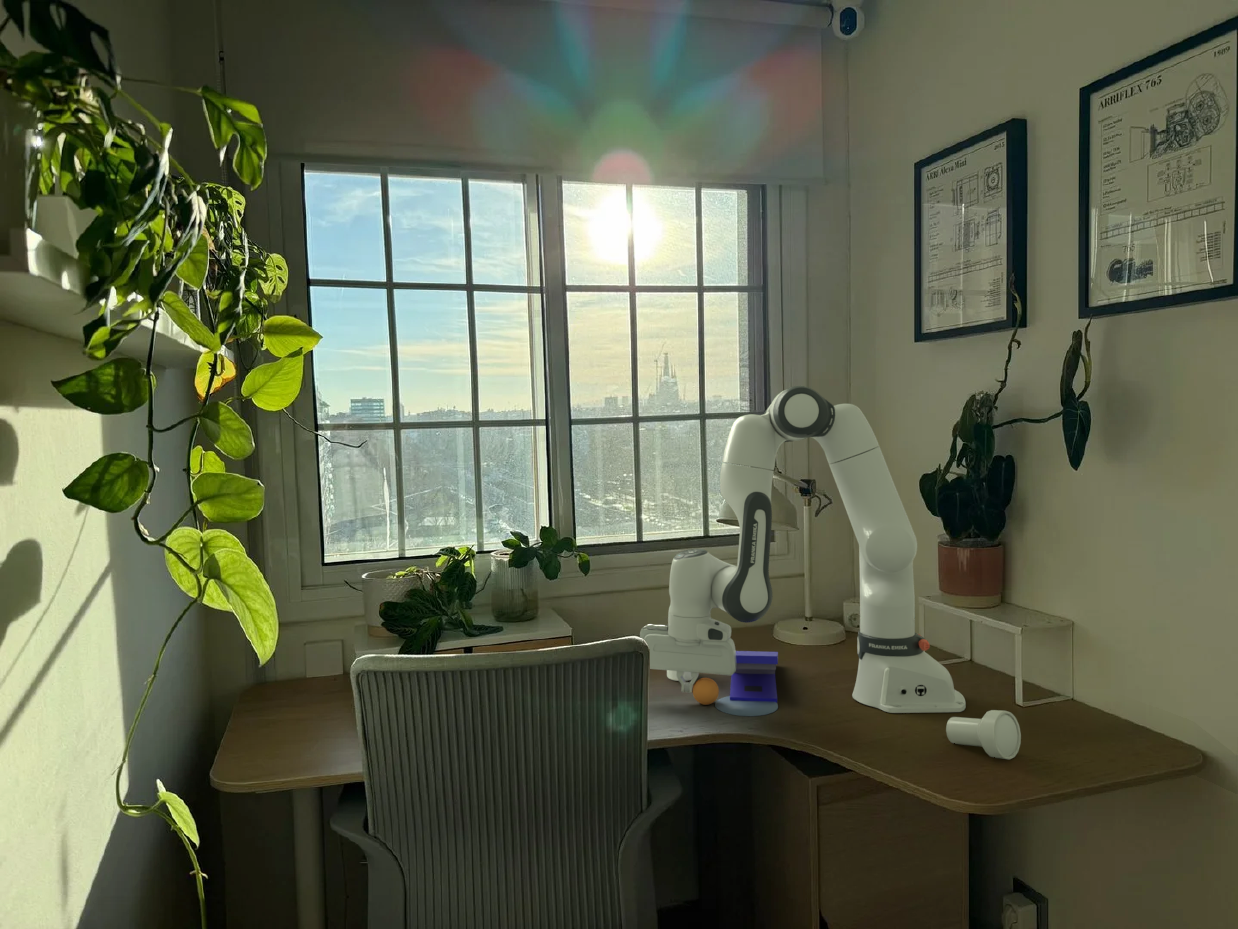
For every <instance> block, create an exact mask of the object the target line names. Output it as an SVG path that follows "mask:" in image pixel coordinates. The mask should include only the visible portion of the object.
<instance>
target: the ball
mask: <svg viewBox="0 0 1238 929" xmlns="http://www.w3.org/2000/svg"><path fill="white" fill-rule="evenodd" d="M719 695H720V690H719V686H718V684H717V682H716V681H715V680H713V679H712V678H710V677H702V678H699V679H697V680H696V681H695V683H694V684H693V692H692V696H693V698H694V699H695V700H696V702H697V703H699V704H700V705H703V706H704V705H705V706H706V705H712V704H713V703H715V702H716V701H717V700H718V697H719Z"/></svg>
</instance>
